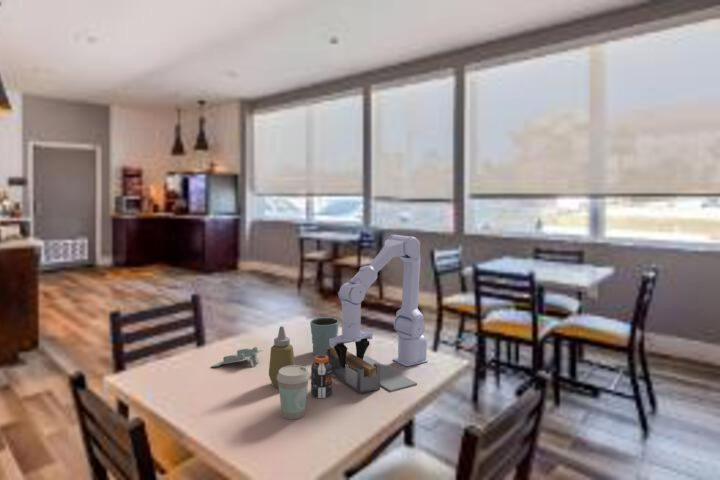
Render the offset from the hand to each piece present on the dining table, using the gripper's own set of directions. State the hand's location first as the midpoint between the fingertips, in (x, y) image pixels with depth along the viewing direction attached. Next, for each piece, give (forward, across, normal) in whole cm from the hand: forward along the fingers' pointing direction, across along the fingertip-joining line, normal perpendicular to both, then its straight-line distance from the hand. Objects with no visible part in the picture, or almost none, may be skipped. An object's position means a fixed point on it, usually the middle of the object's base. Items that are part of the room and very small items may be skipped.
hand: (351, 364), depth 149 cm
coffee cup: (+5, -25, -12) cm, 28 cm away
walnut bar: (0, 0, 0) cm, 0 cm away
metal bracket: (+5, -25, +32) cm, 41 cm away
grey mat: (+5, +10, 0) cm, 11 cm away
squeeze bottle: (+5, -20, +7) cm, 22 cm away
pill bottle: (+5, -13, -5) cm, 15 cm away
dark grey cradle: (+5, 0, 0) cm, 5 cm away
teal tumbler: (+5, +4, +25) cm, 26 cm away
